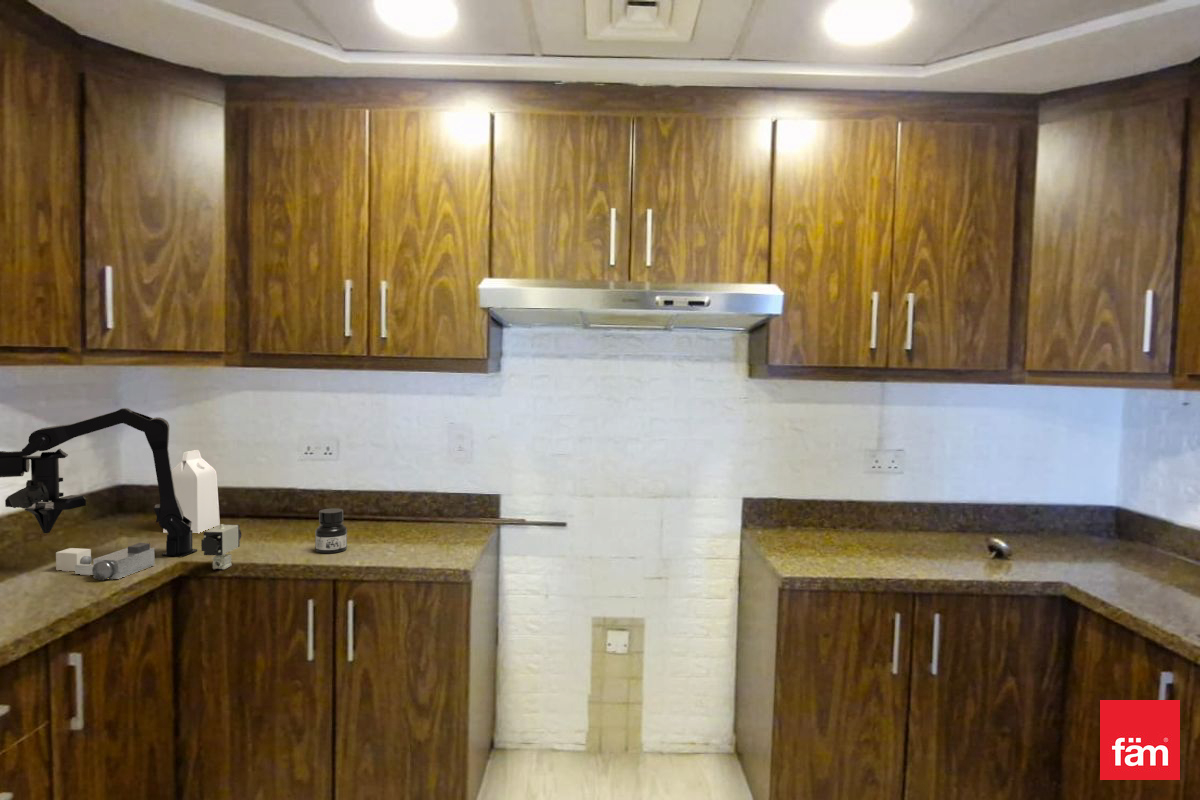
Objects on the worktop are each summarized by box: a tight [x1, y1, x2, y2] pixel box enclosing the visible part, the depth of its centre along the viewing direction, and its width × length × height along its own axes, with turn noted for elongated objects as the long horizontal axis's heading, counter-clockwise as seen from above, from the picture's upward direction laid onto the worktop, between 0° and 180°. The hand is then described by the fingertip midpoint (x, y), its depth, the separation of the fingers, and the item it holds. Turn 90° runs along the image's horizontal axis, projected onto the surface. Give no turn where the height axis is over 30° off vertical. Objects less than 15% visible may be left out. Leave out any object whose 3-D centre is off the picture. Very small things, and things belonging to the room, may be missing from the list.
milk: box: [162, 449, 221, 534], centre depth 226 cm, size 12×12×26 cm
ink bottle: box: [314, 507, 348, 554], centre depth 204 cm, size 10×9×12 cm
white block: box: [55, 547, 93, 572], centre depth 181 cm, size 4×7×5 cm, turn 84°
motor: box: [74, 542, 156, 581], centre depth 179 cm, size 14×14×6 cm
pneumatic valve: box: [200, 523, 243, 571], centre depth 185 cm, size 6×12×12 cm, turn 179°
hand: (46, 533), depth 182 cm, fingers closed
